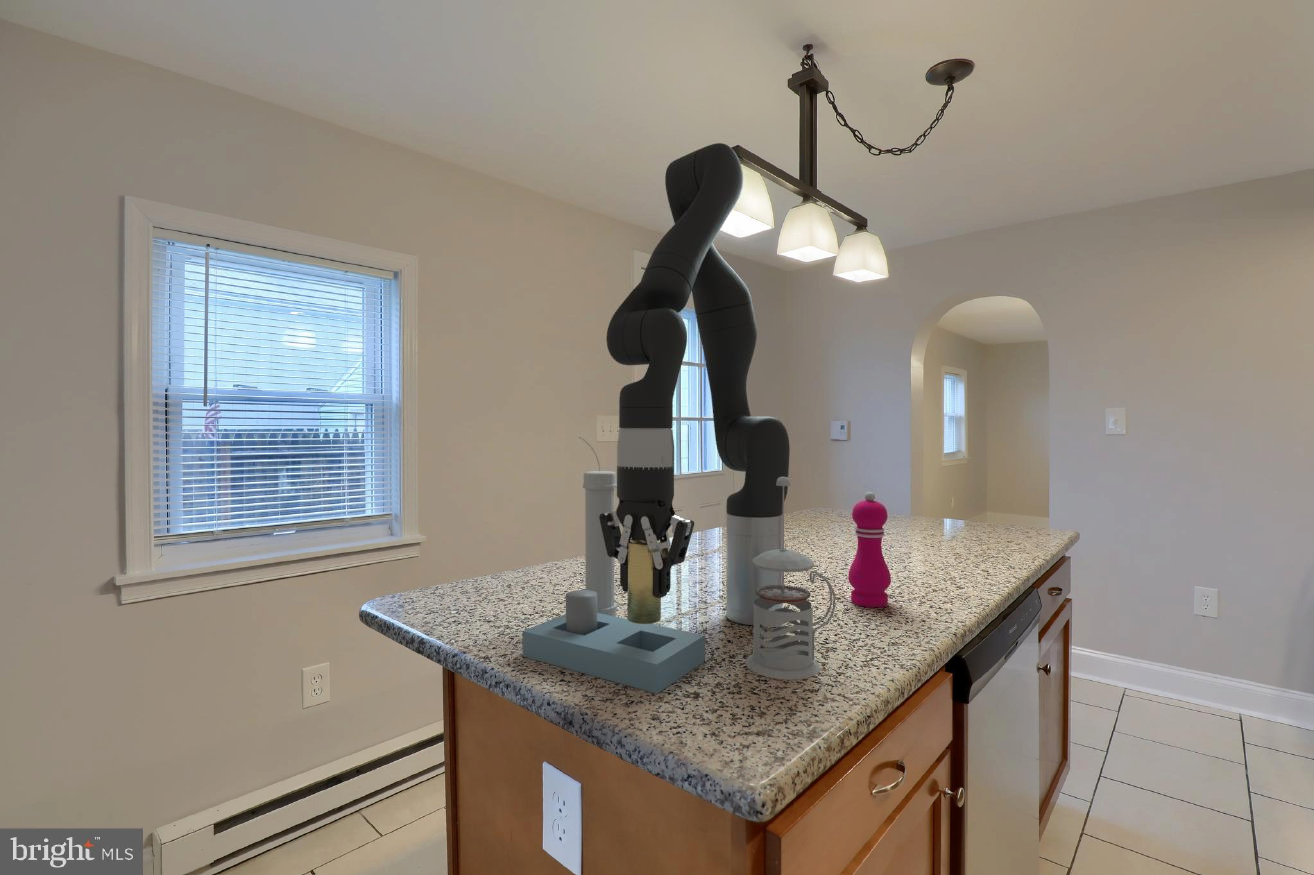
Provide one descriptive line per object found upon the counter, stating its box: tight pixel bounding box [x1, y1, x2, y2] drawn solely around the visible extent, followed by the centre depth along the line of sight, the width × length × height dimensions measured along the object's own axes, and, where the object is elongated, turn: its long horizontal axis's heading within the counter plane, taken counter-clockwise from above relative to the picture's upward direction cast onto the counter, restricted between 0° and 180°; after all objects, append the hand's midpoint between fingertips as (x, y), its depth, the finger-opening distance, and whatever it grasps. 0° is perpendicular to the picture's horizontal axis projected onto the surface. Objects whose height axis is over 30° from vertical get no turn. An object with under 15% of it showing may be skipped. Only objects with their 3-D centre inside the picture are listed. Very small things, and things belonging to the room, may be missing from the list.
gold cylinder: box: [626, 540, 662, 624], centre depth 80 cm, size 4×4×10 cm
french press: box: [745, 477, 836, 681], centre depth 81 cm, size 10×12×25 cm
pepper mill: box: [847, 491, 892, 608], centre depth 109 cm, size 7×7×20 cm
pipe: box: [578, 436, 618, 617], centre depth 99 cm, size 6×6×30 cm
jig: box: [522, 589, 706, 695], centre depth 83 cm, size 12×22×8 cm, turn 57°
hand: (644, 592), depth 80 cm, fingers closed on gold cylinder, 4 cm apart
